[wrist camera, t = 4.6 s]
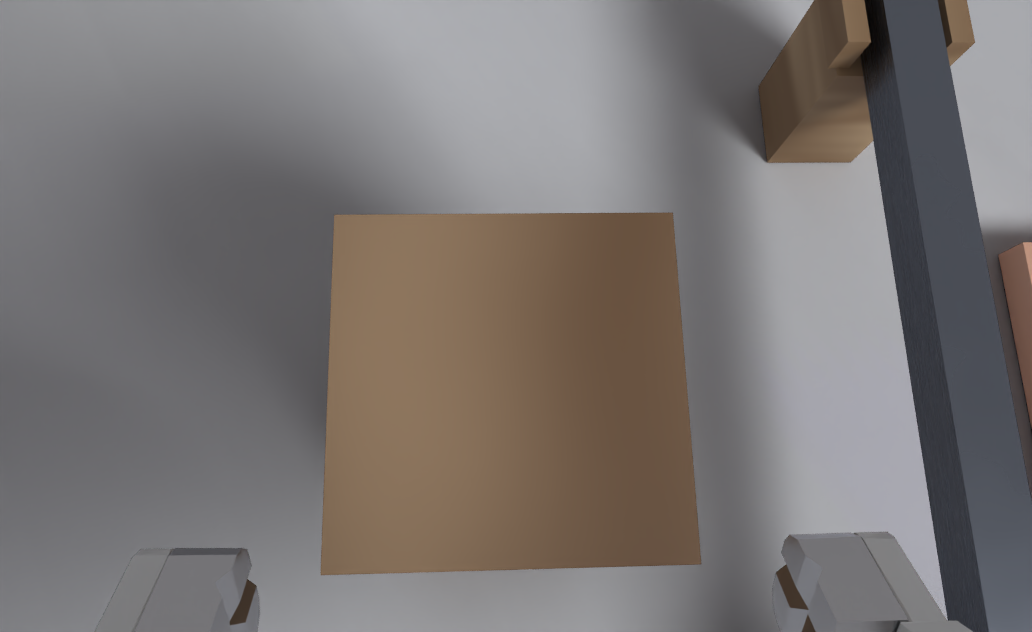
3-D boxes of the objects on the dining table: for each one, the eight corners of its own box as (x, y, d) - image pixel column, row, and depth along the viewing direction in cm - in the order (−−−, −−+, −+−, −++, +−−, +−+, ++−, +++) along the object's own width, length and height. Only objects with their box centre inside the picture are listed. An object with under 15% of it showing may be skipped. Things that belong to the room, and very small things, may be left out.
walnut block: (404, 543, 19) (320, 574, 9) (406, 362, 20) (334, 214, 10) (588, 539, 19) (701, 564, 9) (580, 359, 20) (673, 212, 10)
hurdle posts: (844, 903, 17) (1005, 1076, 12) (751, 86, 22) (835, -46, 17) (966, 897, 17) (1178, 1065, 12) (846, 86, 22) (957, -44, 17)
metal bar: (1014, 1051, 13) (1068, 1105, 12) (847, -26, 18) (872, -64, 17) (1084, 1047, 13) (1144, 1100, 12) (897, -26, 18) (925, -63, 17)
